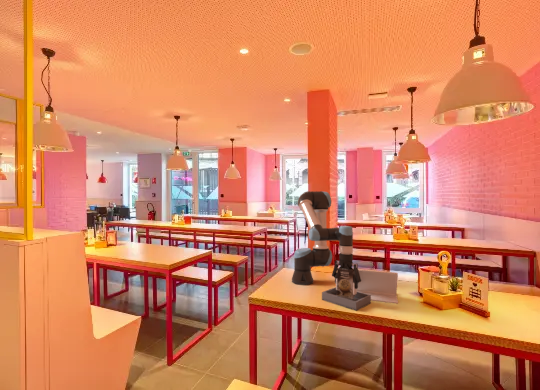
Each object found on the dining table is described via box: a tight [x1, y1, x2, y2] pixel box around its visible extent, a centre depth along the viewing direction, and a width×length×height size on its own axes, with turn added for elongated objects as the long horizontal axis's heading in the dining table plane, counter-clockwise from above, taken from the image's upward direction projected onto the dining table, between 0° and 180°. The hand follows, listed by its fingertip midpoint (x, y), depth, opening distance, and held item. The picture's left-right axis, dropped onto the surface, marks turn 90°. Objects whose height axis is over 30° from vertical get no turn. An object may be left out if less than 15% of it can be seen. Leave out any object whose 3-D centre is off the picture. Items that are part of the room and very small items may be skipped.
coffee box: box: [337, 267, 355, 299], centre depth 160 cm, size 9×6×16 cm
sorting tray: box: [321, 286, 372, 312], centre depth 160 cm, size 22×16×4 cm
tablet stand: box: [357, 268, 399, 304], centre depth 169 cm, size 18×25×17 cm
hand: (346, 291), depth 160 cm, fingers closed on coffee box, 10 cm apart
